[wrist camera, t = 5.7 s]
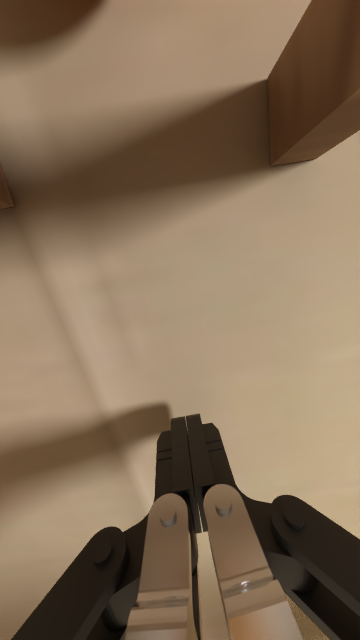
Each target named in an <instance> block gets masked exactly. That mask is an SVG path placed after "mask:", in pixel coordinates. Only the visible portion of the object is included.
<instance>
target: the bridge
mask: <svg viewBox="0 0 360 640" xmlns="http://www.w3.org/2000/svg"><path fill="white" fill-rule="evenodd" d="M268 103H269V133H270V164H271V166H274V165H280V164H286V163H292V162H299V161H305V160H311V159H316V158H318V157H319V156H321V155H322V154H324V153H325V152H327V151H328V150H330V149H332V148H333V147H335V146H336V145H338V144H339V143H341V142H342V141H344V140H345V139H347V138H348V137H350V136H351V135H353V134H354V133H356V132H357V131H359V130H360V0H312V1H311V3H310V4H309V6H308V8H307V10H306V11H305V13H304V15H303V17H302V18H301V20H300V22H299V24H298V25H297V27H296V29H295V31H294V32H293V34H292V36H291V38H290V39H289V41H288V43H287V45H286V46H285V48H284V50H283V52H282V53H281V55H280V57H279V59H278V61H277V62H276V64H275V66H274V68H273V69H272V71H271V73H270V75H269V76H268ZM9 207H15V206H14V203H13V200H12V197H11V194H10V191H9V188H8V185H7V183H6V180H5V177H4V174H3V171H2V168H1V165H0V209H2V208H9Z"/></svg>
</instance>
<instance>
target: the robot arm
mask: <svg viewBox="0 0 360 640" xmlns="http://www.w3.org/2000/svg"><path fill="white" fill-rule="evenodd" d="M186 422H187V426H186ZM187 429H188V431H187ZM156 461H157V462H156V479H155V498H154V503H153V505H152V507H151V509H150V511H149V513H148V514H147V516H146V517H145V518H144V519H143V520H142V521H141V522H139V523H138V524H136V525H134V526H133V527H131V528H129V529H128V530H126V531H124V532H122V531H121V530H120V529H119V528H117V527H107V528H104V529H102V530H100V531H99V532H97V533H96V534H95V535H94V536H93V537H92V538H91V540H90V541H89V542H88V543H87V545H86V546H85V547H84V548H83V550H82V551H81V552H80V553H79V555H78V556H77V557H76V558H75V560H74V561H73V562H72V564H71V565H70V566H69V567H68V569H67V570H66V571H65V572H64V574H63V575H62V576H61V577H60V579H59V580H58V581H57V582H56V584H55V585H54V586H53V587H52V589H51V590H50V591H49V593H48V594H47V595H46V596H45V598H44V599H43V600H42V601H41V603H40V604H39V605H38V606H37V608H36V609H35V610H34V611H33V613H32V614H31V615H30V616H29V618H28V619H27V620H26V622H25V623H24V624H23V625H22V627H21V628H20V629H19V630H18V632H17V633H16V634H15V635H14V637H13V638H12V639H11V640H203V638H202V619H201V600H200V582H199V563H198V546H197V537H196V533H202V531H201V524H200V517H201V522H202V527H203V532H206V531H208V535H209V541H210V546H211V552H212V557H213V563H214V567H215V572H216V577H217V581H218V586H219V591H220V595H221V600H222V604H223V609H224V614H225V618H226V623H227V628H228V632H229V637H230V640H303V637H302V635H301V632H300V630H299V627H298V625H297V623H296V620H295V618H294V615H293V613H292V610H291V608H290V605H289V603H288V601H287V598H286V596H285V594H284V592H285V593H286V594H287V595H288V596H289V597H290V598H291V600H292V601H293V602H294V603H295V604H296V605H297V606H298V607H299V608H300V609H301V610H302V611H303V612H304V613H305V614H306V615H307V616H308V617H309V618H310V619H311V620H312V621H313V622H314V623H315V624H316V625H317V626H318V627H319V628H320V629H321V630H322V631H323V633H324V634H325V635H326V636H327V637H328V638H329V639H330V640H360V539H358V538H357V537H355V536H354V535H352V534H351V533H350V532H348V531H347V530H345V529H344V528H342V527H341V526H339V525H338V524H336V523H335V522H333V521H332V520H330V519H329V518H327V517H326V516H325V515H323V514H322V513H320V512H319V511H317V510H316V509H314V508H313V507H311V506H310V505H308V504H307V503H305V502H304V501H302V500H301V499H299V498H297V497H295V496H291V495H281V496H279V497H277V498H275V499H274V501H273V502H272V504H271V503H266V502H261V501H256V500H253V499H250V498H248V497H247V496H245V495H244V494H243V493H242V492H241V491H240V490H239V489H238V487H237V486H236V484H235V481H234V478H233V475H232V472H231V468H230V465H229V462H228V459H227V455H226V452H225V450H224V446H223V443H222V439H221V436H220V433H219V430H218V429H217V428H216V427H215V426H214V424H213V423H208V424H202V422H201V417H200V414H194V415H189V416H186V420H185V416H184V417H178V418H172V419H171V430H169V431H164V432H161V434H160V436H159V438H158V441H157V456H156ZM198 506H199V508H198ZM199 511H200V516H199Z"/></svg>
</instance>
